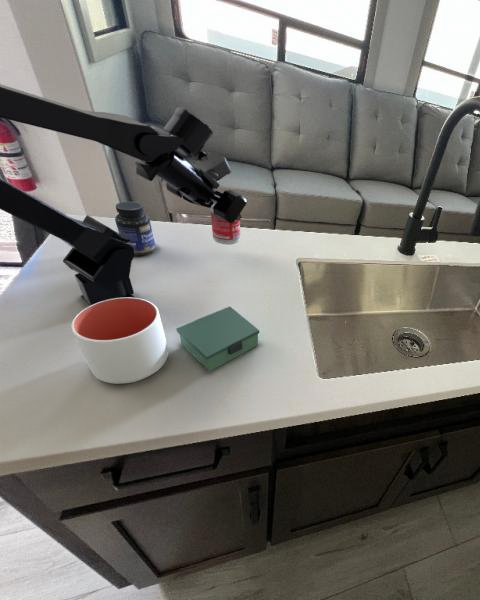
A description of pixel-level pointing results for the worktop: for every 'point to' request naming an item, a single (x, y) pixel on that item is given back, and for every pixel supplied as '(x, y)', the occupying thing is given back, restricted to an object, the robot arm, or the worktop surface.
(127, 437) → the worktop surface
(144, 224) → the pill bottle
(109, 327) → the cup
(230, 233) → the pill bottle
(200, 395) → the worktop surface
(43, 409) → the worktop surface
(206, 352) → the lunchbox
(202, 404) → the worktop surface
